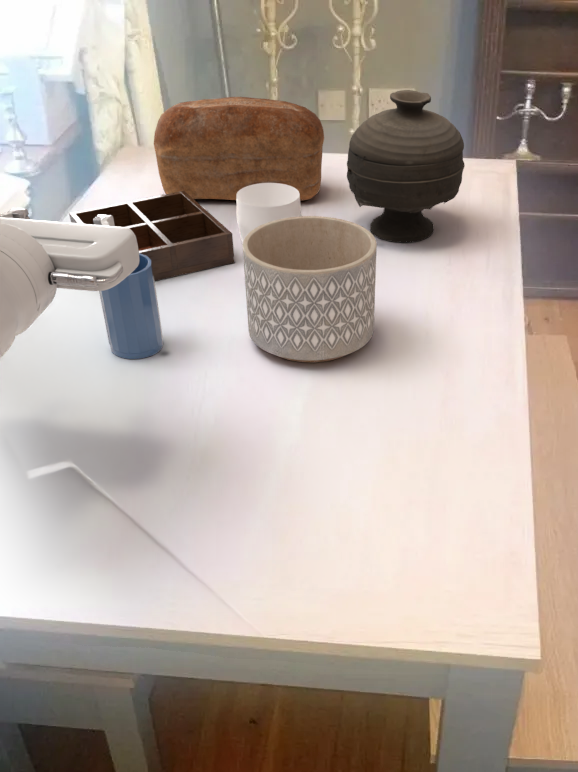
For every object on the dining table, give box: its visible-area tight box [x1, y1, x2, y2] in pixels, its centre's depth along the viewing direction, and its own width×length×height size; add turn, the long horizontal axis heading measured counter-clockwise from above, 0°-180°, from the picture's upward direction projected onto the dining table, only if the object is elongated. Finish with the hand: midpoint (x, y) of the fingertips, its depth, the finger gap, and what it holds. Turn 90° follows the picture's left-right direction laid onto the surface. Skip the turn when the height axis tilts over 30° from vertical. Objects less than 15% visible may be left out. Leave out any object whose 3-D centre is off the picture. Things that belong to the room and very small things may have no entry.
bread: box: [153, 96, 325, 202], centre depth 149 cm, size 12×28×14 cm, turn 88°
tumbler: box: [98, 253, 164, 360], centre depth 113 cm, size 7×7×11 cm
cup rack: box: [69, 191, 236, 282], centre depth 136 cm, size 19×19×4 cm
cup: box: [235, 183, 303, 246], centre depth 127 cm, size 9×9×12 cm
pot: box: [346, 89, 465, 244], centre depth 137 cm, size 18×18×20 cm
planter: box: [241, 215, 378, 363], centre depth 114 cm, size 16×16×13 cm
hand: (65, 218), depth 94 cm, fingers open, 8 cm apart
